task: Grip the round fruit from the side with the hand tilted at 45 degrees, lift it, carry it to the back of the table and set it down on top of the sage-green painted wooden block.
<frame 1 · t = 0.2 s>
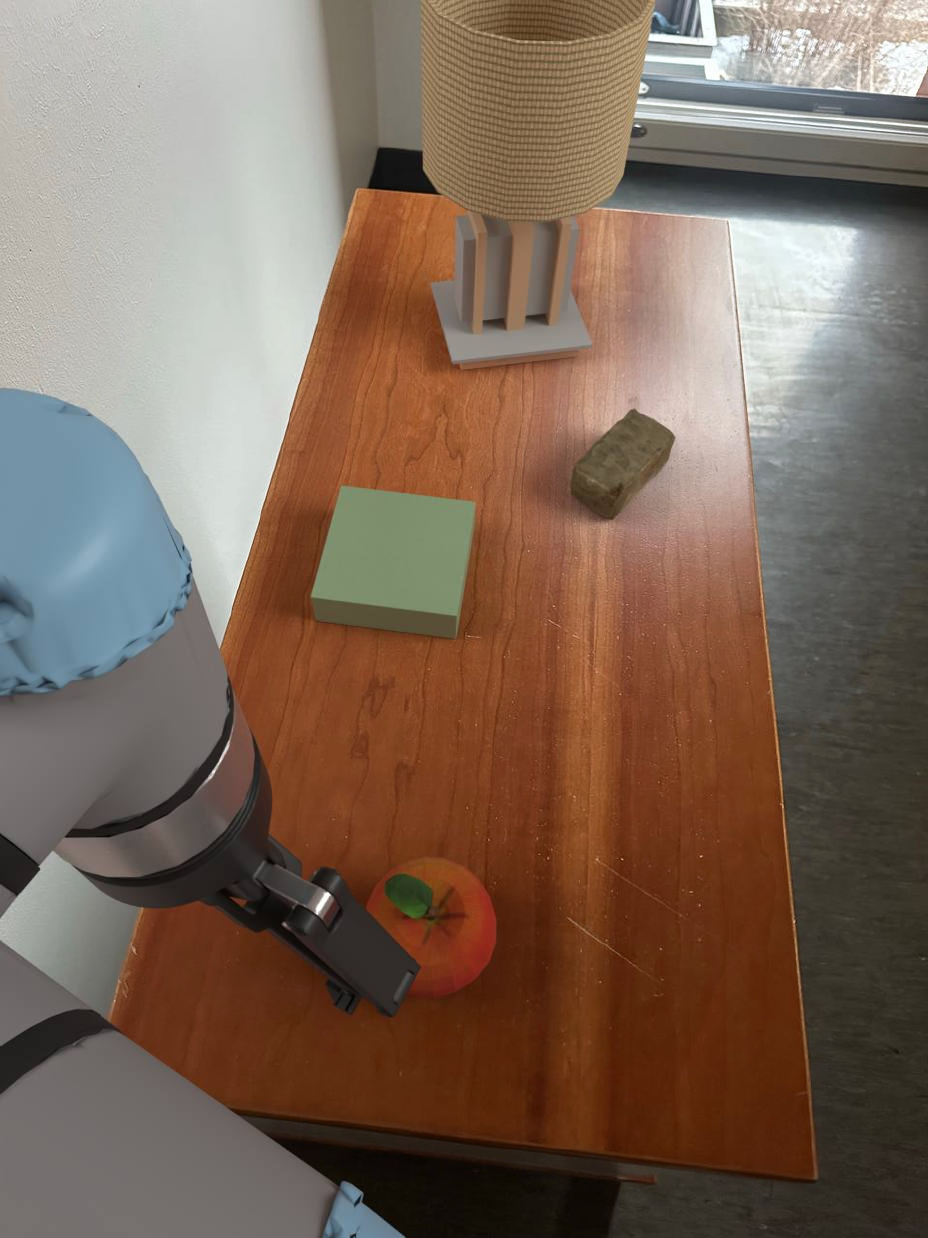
hand: (251, 924, 49), 19 cm above the table, tool pointing down, fingers open, 13 cm apart
green block: (397, 572, 85), on the table
fruit: (430, 940, 67), on the table
desk lamp: (508, 331, 104), on the table
stone block: (618, 481, 92), on the table
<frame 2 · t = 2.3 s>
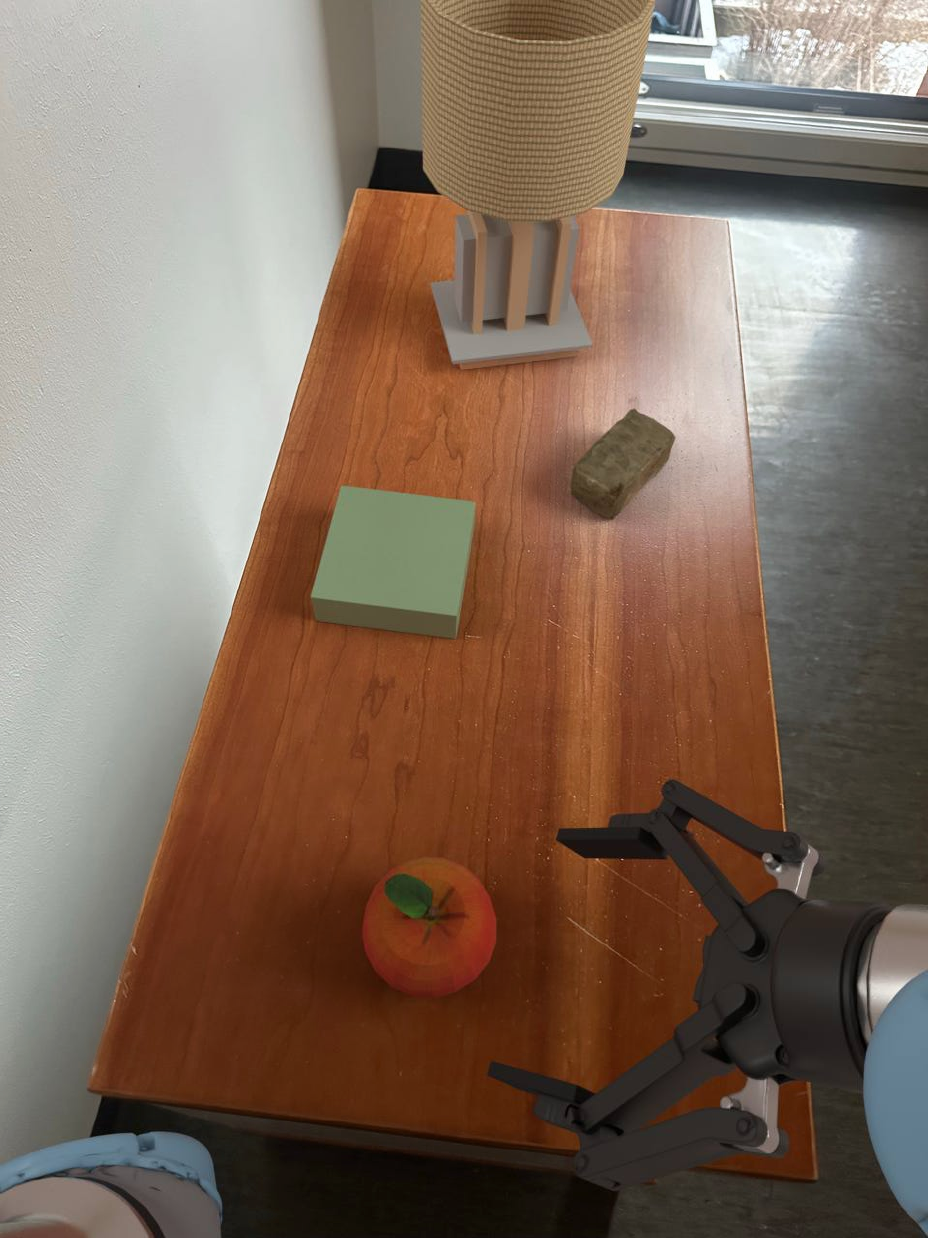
hand: (540, 952, 52), 15 cm above the table, tool tilted 40°, fingers open, 13 cm apart
nothing on the table moved.
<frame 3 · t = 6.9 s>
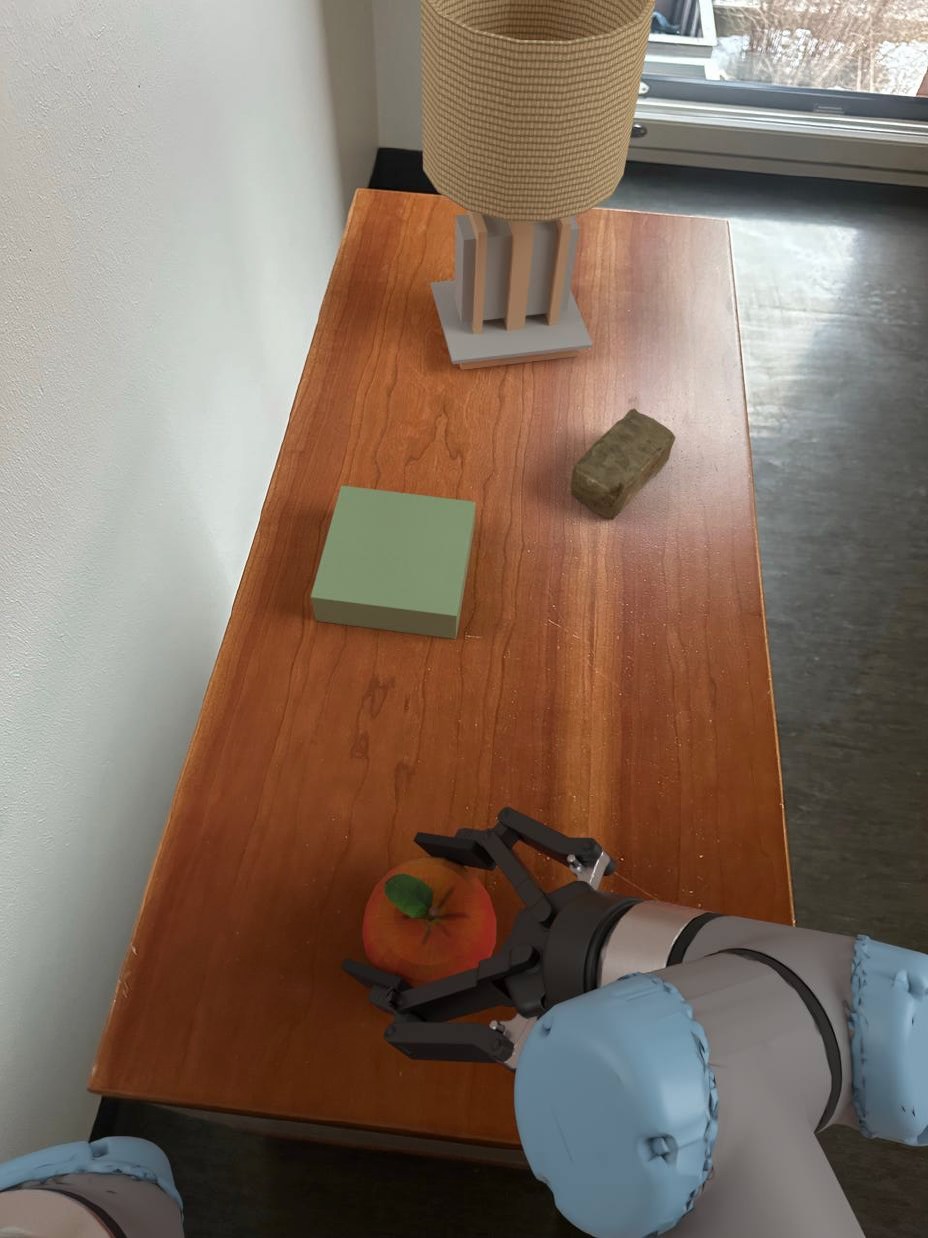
hand: (392, 907, 64), 4 cm above the table, tool tilted 45°, fingers closed on fruit, 9 cm apart
fruit: (431, 941, 67), on the table, touching gripper
everything else where it was.
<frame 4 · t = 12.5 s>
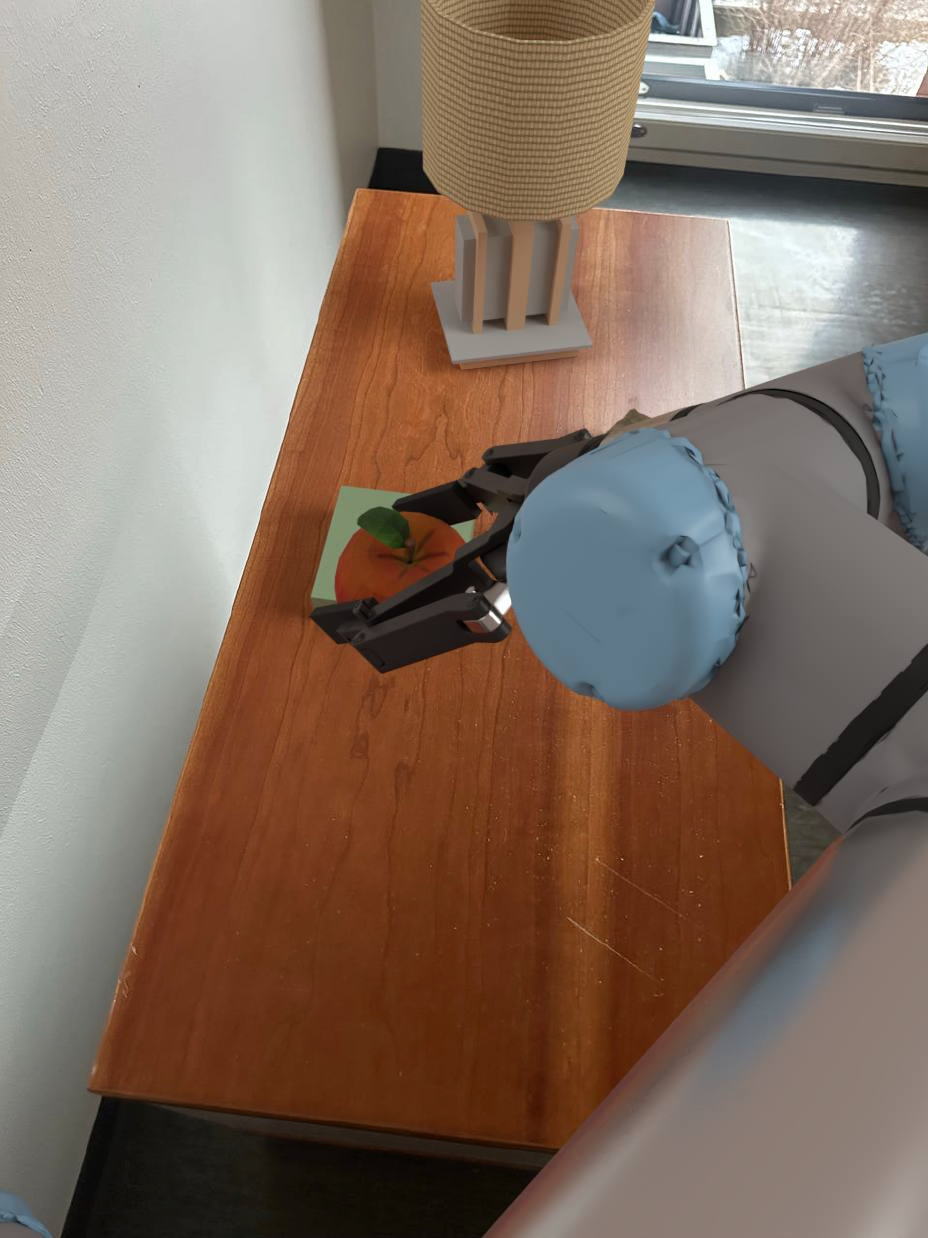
hand: (368, 569, 59), 21 cm above the table, tool tilted 45°, fingers closed on fruit, 9 cm apart
fruit: (411, 621, 62), point 17 cm above the table, touching gripper
everything else where it was.
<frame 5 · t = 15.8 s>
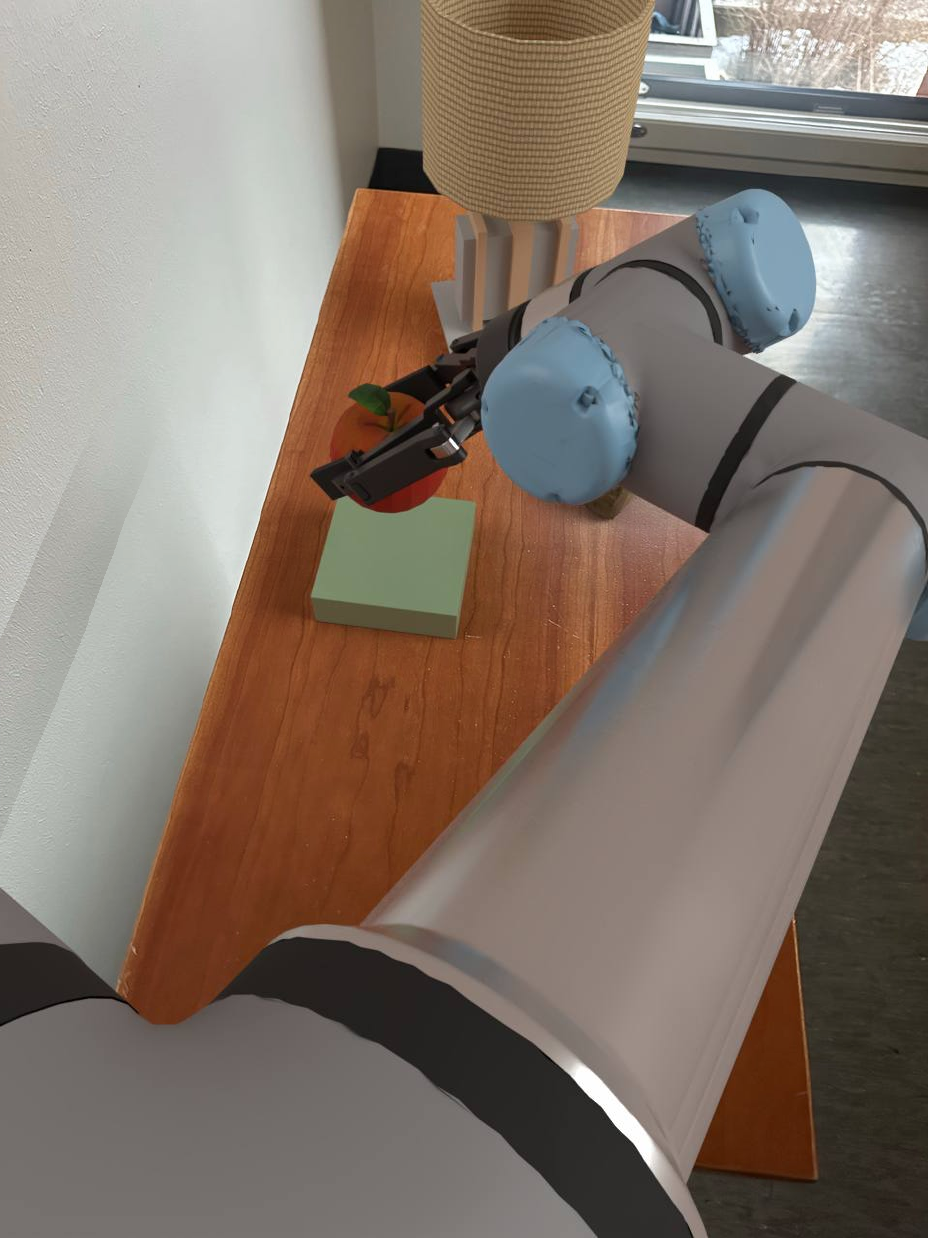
hand: (357, 442, 72), 16 cm above the table, tool tilted 45°, fingers closed on fruit, 9 cm apart
fruit: (393, 490, 75), point 12 cm above the table, touching gripper
everything else where it was.
when the fingers open (8 cm above the table, at t = 18.5 s): fruit stays where it is, resting on green block.
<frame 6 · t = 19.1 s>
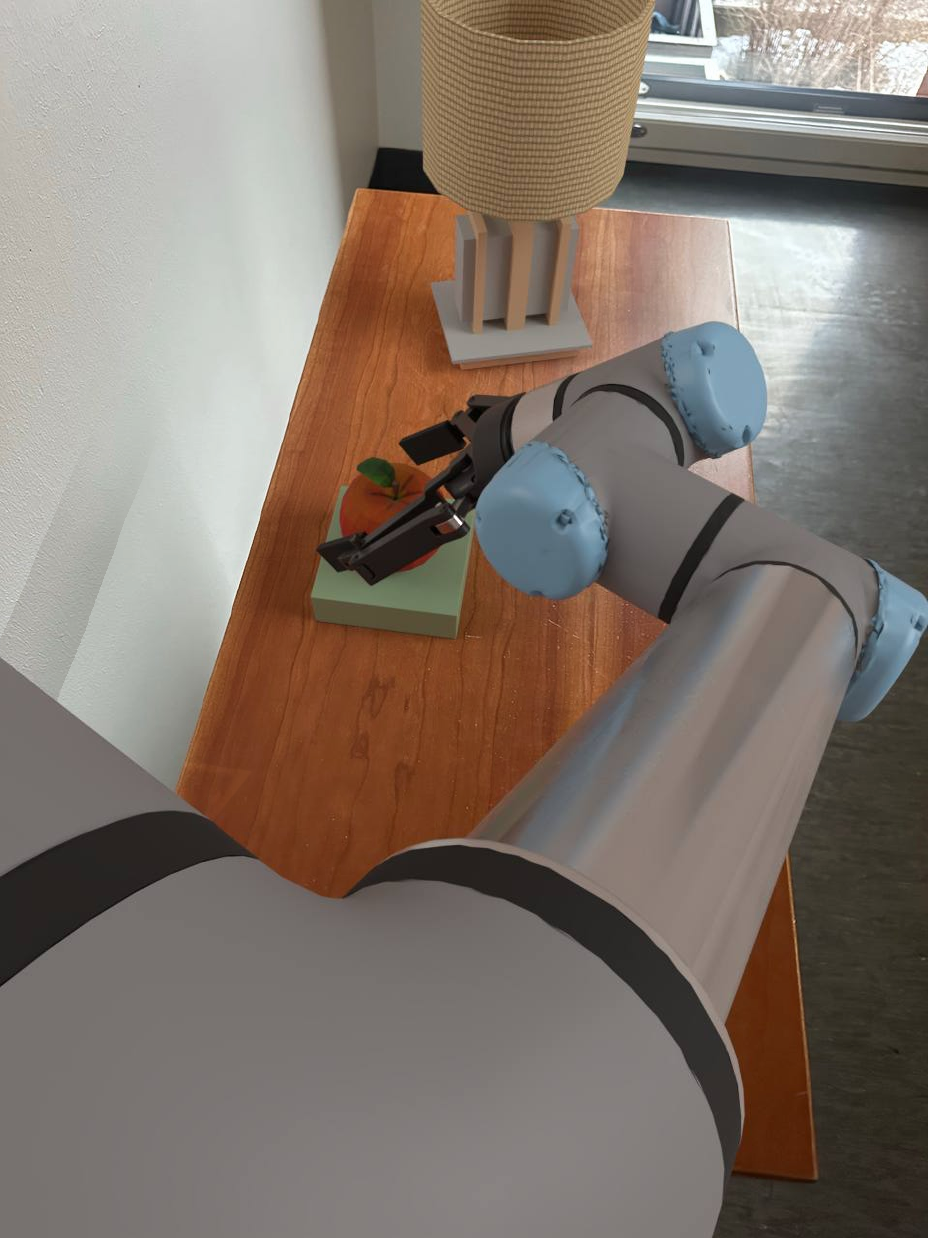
hand: (370, 503, 78), 9 cm above the table, tool tilted 45°, fingers open, 13 cm apart
fruit: (397, 548, 82), point 4 cm above the table, touching green block
everything else where it was.
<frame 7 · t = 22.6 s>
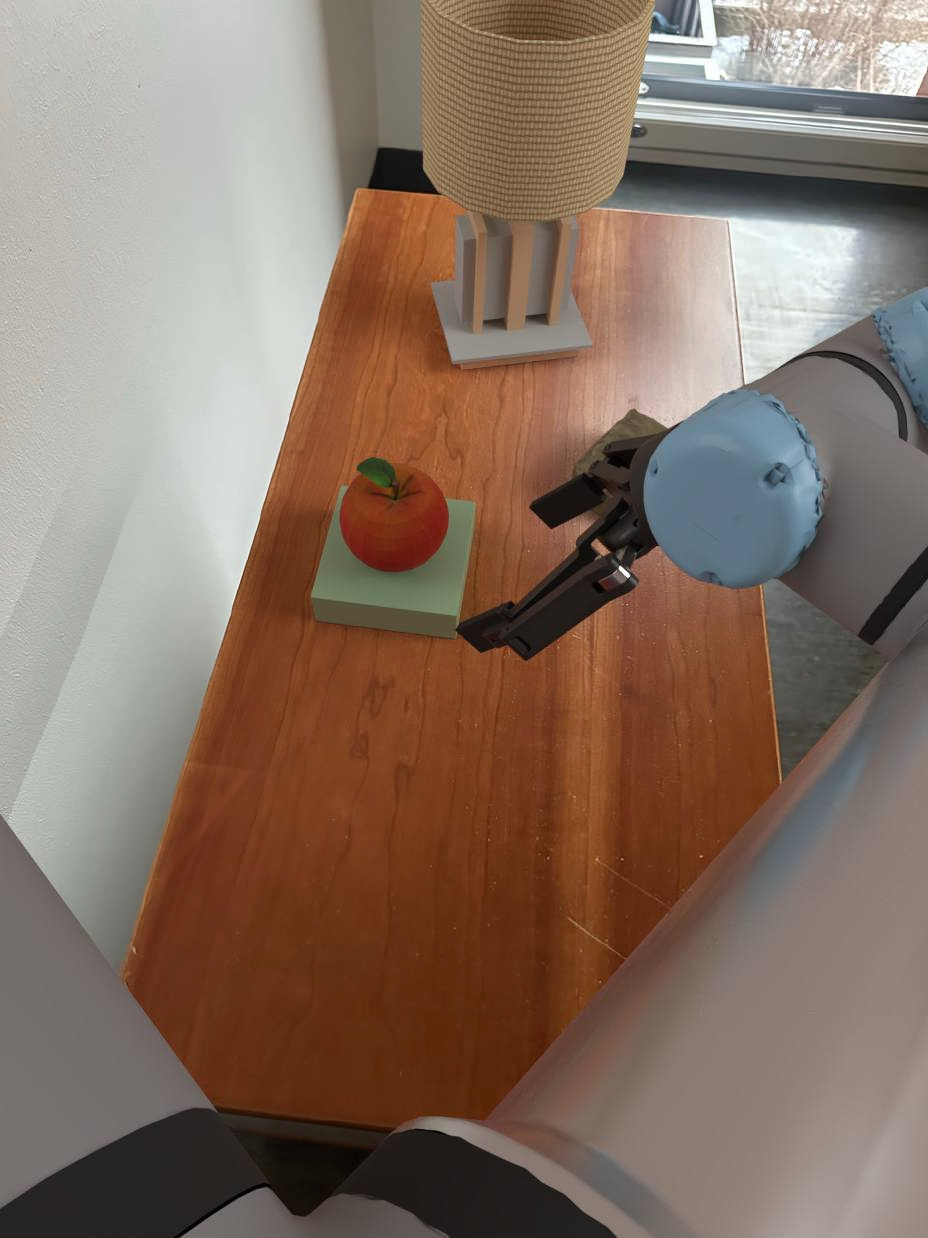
hand: (507, 573, 70), 12 cm above the table, tool tilted 35°, fingers open, 13 cm apart
nothing on the table moved.
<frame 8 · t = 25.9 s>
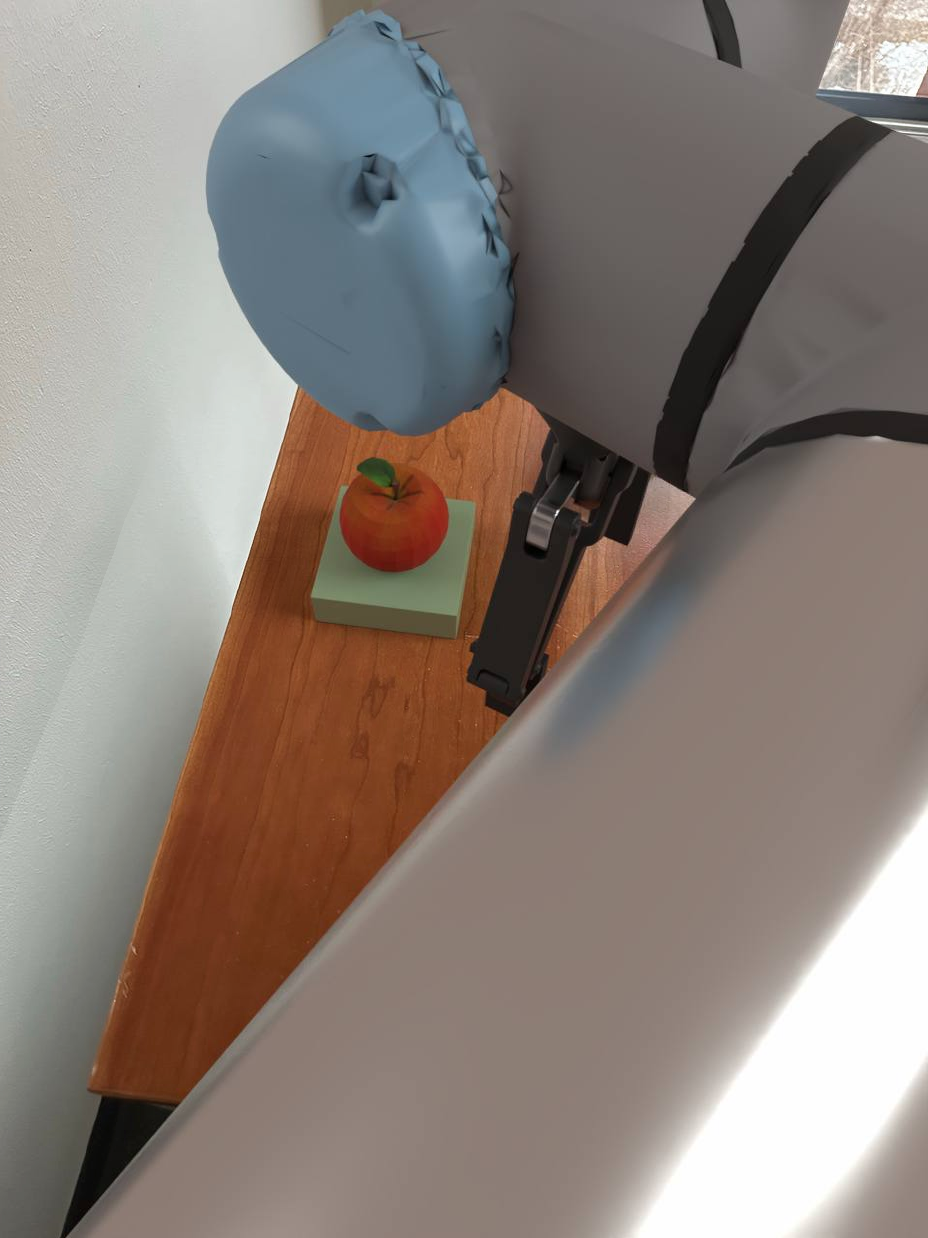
hand: (562, 616, 51), 27 cm above the table, tool pointing down, fingers open, 13 cm apart
nothing on the table moved.
at the end: fruit inside the target area on the green block (0.1 cm from its centre), point 3.8 cm above the green block's base; fruit touching green block; the gripper is holding nothing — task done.
